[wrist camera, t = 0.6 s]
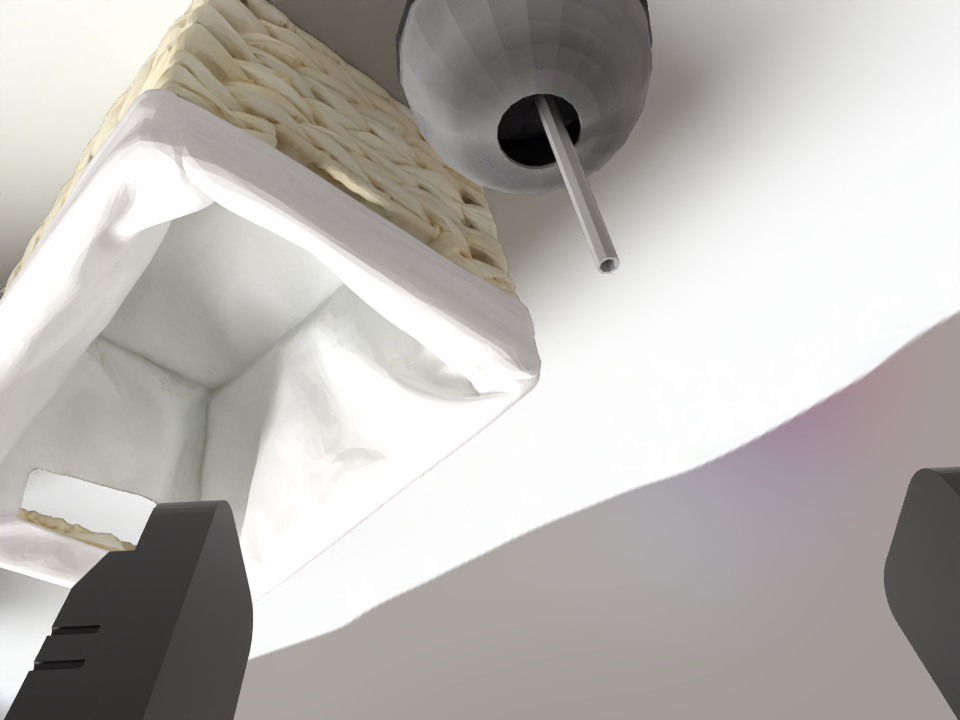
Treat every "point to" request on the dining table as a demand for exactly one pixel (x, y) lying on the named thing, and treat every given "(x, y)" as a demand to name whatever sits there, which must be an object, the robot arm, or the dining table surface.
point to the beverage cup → (528, 92)
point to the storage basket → (252, 304)
